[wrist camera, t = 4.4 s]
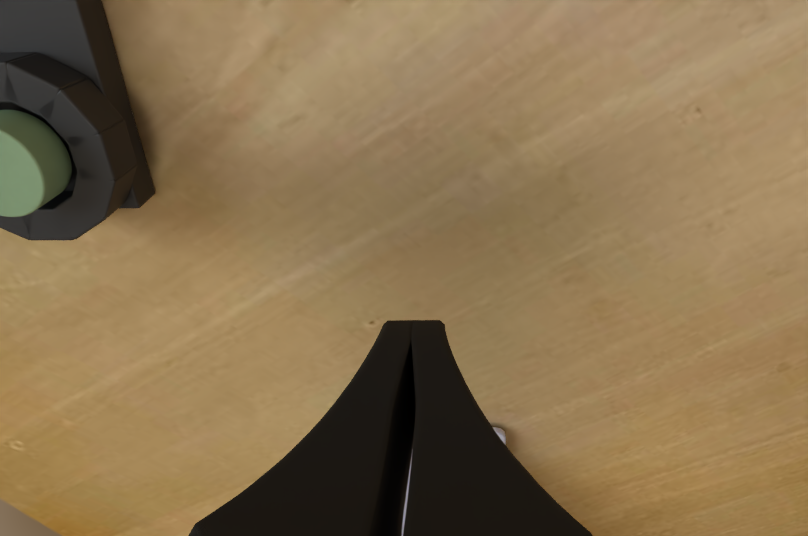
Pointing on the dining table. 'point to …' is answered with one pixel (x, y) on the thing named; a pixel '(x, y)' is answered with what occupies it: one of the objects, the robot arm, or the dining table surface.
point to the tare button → (30, 164)
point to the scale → (72, 111)
